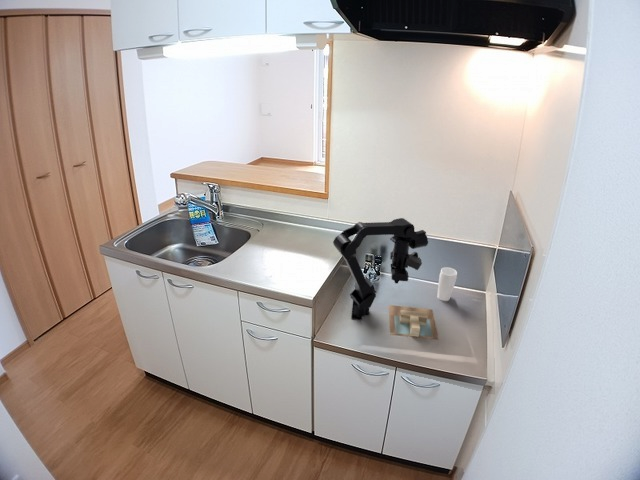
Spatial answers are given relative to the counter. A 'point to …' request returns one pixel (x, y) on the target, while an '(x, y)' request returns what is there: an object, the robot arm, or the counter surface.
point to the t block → (413, 320)
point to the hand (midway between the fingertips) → (396, 282)
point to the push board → (403, 328)
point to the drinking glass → (446, 283)
